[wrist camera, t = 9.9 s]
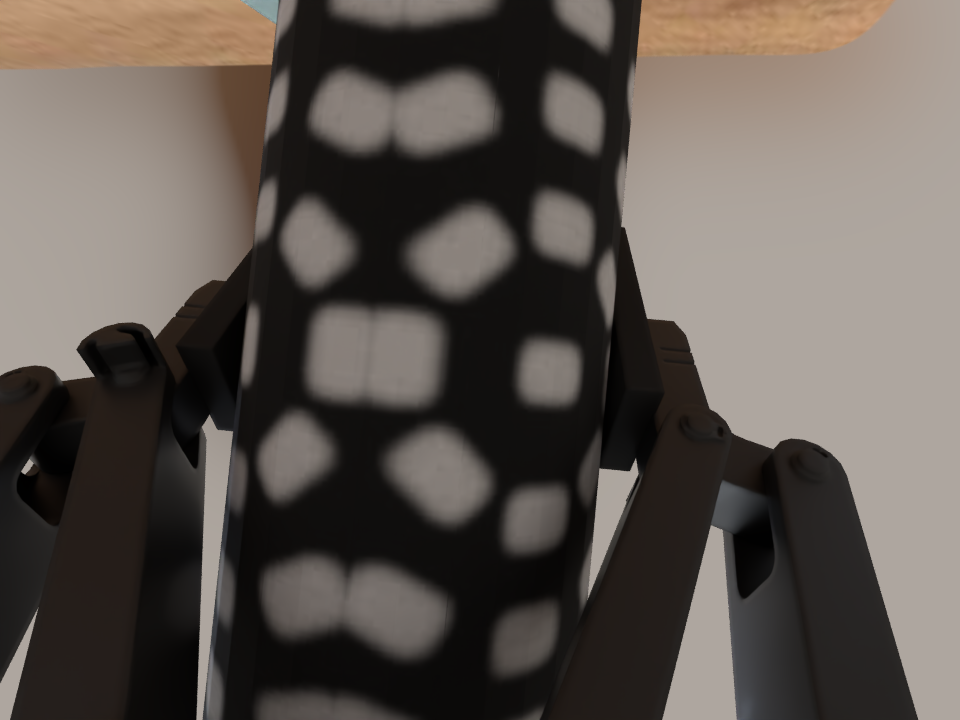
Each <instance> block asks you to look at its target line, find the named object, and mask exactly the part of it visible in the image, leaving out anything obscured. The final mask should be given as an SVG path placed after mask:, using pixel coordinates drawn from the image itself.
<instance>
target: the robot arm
mask: <svg viewBox="0 0 960 720" xmlns="http://www.w3.org/2000/svg"><path fill="white" fill-rule="evenodd" d="M252 249H253V248H252ZM252 249H251V250H250V251H249V253H248V254H247V255H246V257H245V258H244V259H243V260H242V262H241V263H240V264H239V266H238V267H237V268H236V269H235V271H234V272H233V273H232V274H231V276H230V277H229V278H228V279H227V281H217V280H212V281H210V282H209V283H207V284H206V285H204V286H202V287H201V288H199V289H198V290H196V291H195V292H194V293H193V294H192V296H191V297H190V298H189V299H188V300H187V301H186V302H185V305H184V307H183V306H182V307H181V308H180V310H179V311H178V312H177V313H176V317H173V318H172V319H171V320H170V322H169V323H168V324H167V325H166V326H165V327H164V329H163V330H162V331H161V332H160V333H159V335H158V336H157V337H156V338H155V339H154V337H153V335H152V334H151V332H150V330H149V329H148V328H146V327H145V326H144V325H142V324H137V323H118V324H114V325H110V326H106V327H104V328H101V329H100V330H97V331H95V332H93V333H91V334H90V335H89V336H87V337H86V338H85V339H84V340H82V341H81V343H80V345H79V346H78V348H77V351H78V353H79V354H80V356H81V357H82V358H83V360H84V361H85V363H86V364H87V366H88V367H89V369H90V370H91V372H92V373H93V374H94V376H95V377H90V378H82V379H75V380H68V381H61V380H60V378H59V377H58V376H57V374H56V373H55V372H54V371H53V370H51V369H50V368H48V367H44V366H29V367H22V368H18V369H15V370H12V371H10V372H7V373H4V374H3V375H1V376H0V682H1V681H2V678H3V677H4V675H5V672H6V671H7V668H8V667H9V664H10V663H11V660H12V659H13V657H14V655H15V653H16V651H17V649H18V647H19V645H20V642H21V641H22V639H23V637H24V635H25V633H26V631H27V629H28V627H29V625H30V623H31V621H32V619H33V617H34V615H35V612H36V611H37V609H38V611H37V615H36V619H35V623H34V627H33V631H32V635H31V639H30V643H29V647H28V651H27V655H26V659H25V663H24V667H23V671H22V675H21V679H20V683H19V687H18V691H17V694H16V698H15V703H14V706H13V710H12V714H11V718H10V720H196V715H197V688H198V659H199V632H200V604H201V603H200V602H201V576H202V549H203V521H204V492H205V463H206V437H205V433H204V431H203V429H202V426H203V424H204V423H205V421H206V419H207V418H208V416H209V415H210V416H211V418H212V420H213V422H214V424H215V426H216V428H217V429H218V430H226V431H233V428H234V419H235V410H236V400H237V391H238V381H239V372H240V362H241V353H242V344H243V334H244V325H245V315H246V306H247V296H248V287H249V278H250V268H251V259H252ZM29 459H30V460H31V461H32V462H33V463H34V464H33V466H32V467H31V469H30V470H29V471H28V472H27V473H26V474H23V473H22V472H21V471H22V469H23V468H24V466H25V464H26V463H27V461H28V460H29ZM635 459H636V461H637V467H638V473H639V474H638V477H637V479H636V481H635V483H634V485H633V487H632V489H631V491H630V493H629V496H628V498H627V500H626V501H627V503H626V505H625V508H624V511H623V513H622V515H621V518H620V520H619V523H618V525H617V528H616V530H615V533H614V535H613V538H612V540H611V543H610V545H609V548H608V550H607V553H606V555H605V558H604V560H603V563H602V565H601V568H600V571H599V573H598V575H597V578H596V580H595V583H594V585H593V588H592V590H591V593H590V595H589V598H588V600H587V603H586V605H585V608H584V610H583V613H582V615H581V618H580V620H579V623H578V625H577V628H576V630H575V633H574V635H573V638H572V640H571V643H570V645H569V648H568V650H567V653H566V655H565V658H564V660H563V663H562V665H561V668H560V670H559V673H558V675H557V678H556V680H555V683H554V685H553V688H552V690H551V693H550V695H549V698H548V700H547V703H546V705H545V708H544V710H543V713H542V715H541V718H540V720H662V718H663V714H664V710H665V706H666V702H667V698H668V694H669V690H670V686H671V682H672V678H673V674H674V670H675V666H676V662H677V658H678V654H679V650H680V646H681V642H682V638H683V634H684V630H685V626H686V622H687V618H688V614H689V610H690V606H691V602H692V598H693V594H694V589H695V586H696V582H697V578H698V574H699V570H700V566H701V562H702V558H703V554H704V550H705V546H706V542H707V538H708V534H709V530H710V526H711V525H713V526H715V527H717V528H720V529H722V530H723V537H724V551H725V563H726V577H727V591H728V604H729V618H730V632H731V646H732V658H733V671H734V672H733V673H734V687H735V700H736V714H737V720H918V718H917V714H916V711H915V707H914V704H913V700H912V697H911V694H910V690H909V687H908V683H907V680H906V676H905V673H904V670H903V666H902V663H901V659H900V656H899V653H898V649H897V646H896V642H895V639H894V636H893V632H892V629H891V625H890V622H889V618H888V615H887V611H886V608H885V605H884V601H883V598H882V594H881V591H880V587H879V584H878V581H877V577H876V574H875V570H874V567H873V564H872V560H871V557H870V553H869V550H868V547H867V543H866V539H865V536H864V533H863V530H862V526H861V522H860V519H859V516H858V512H857V509H856V506H855V502H854V498H853V495H852V492H851V488H850V485H849V481H848V478H847V475H846V473H845V471H844V469H843V467H842V465H841V463H839V461H838V460H837V459H836V458H835V457H834V456H833V455H832V454H831V453H830V452H828V451H826V450H825V449H823V448H821V447H820V446H819V445H816V444H814V443H811V442H808V441H806V440H800V439H788V440H784V441H781V442H780V443H779V444H778V445H777V446H776V447H775V448H774V449H771V448H768V447H765V446H763V445H759V444H757V443H754V442H751V441H748V440H745V439H743V438H741V437H738V436H736V435H734V434H733V433H731V430H730V428H729V426H728V424H727V423H726V421H725V420H724V419H723V418H721V417H720V416H719V415H718V414H717V413H716V412H714V411H712V410H710V409H709V406H708V403H707V400H706V396H705V393H704V390H703V387H702V384H701V381H700V378H699V375H698V372H697V368H696V366H695V365H694V359H693V356H692V353H690V346H689V343H688V340H687V337H686V335H685V334H684V332H683V331H682V330H681V329H680V328H679V327H678V326H677V325H676V324H675V322H674V321H665V320H653V319H647V317H646V313H645V309H644V305H643V300H642V297H641V292H640V289H639V284H638V280H637V276H636V272H635V267H634V263H633V259H632V255H631V251H630V247H629V243H628V238H627V234H626V230H625V228H624V227H621V234H620V245H619V256H618V267H617V279H616V290H615V301H614V312H613V323H612V334H611V345H610V356H609V367H608V378H607V389H606V400H605V411H604V422H603V433H602V444H601V455H600V466H599V468H601V469H612V470H621V471H630V470H631V467H632V465H633V463H634V461H635Z"/></svg>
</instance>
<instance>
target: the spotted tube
mask: <svg viewBox="0 0 960 720" xmlns="http://www.w3.org/2000/svg"><path fill="white" fill-rule="evenodd" d="M641 3H642V0H279V4H278V14H277V23H276V32H275V42H274V51H273V61H272V70H271V81H270V89H269V99H268V108H267V118H266V127H265V136H264V146H263V155H262V164H261V174H260V183H259V193H258V202H257V212H256V221H255V231H254V240H253V249H252V259H251V268H250V278H249V287H248V296H247V306H246V315H245V325H244V334H243V344H242V353H241V362H240V372H239V381H238V391H237V400H236V410H235V419H234V428H233V439H232V447H231V457H230V466H229V476H228V485H227V495H226V504H225V514H224V523H223V532H222V542H221V552H220V560H219V571H218V579H217V590H216V599H215V608H214V617H213V618H214V619H213V626H212V636H211V645H210V655H209V664H208V674H207V683H206V692H205V702H204V711H203V720H540V718H541V715H542V713H543V710H544V708H545V705H546V703H547V700H548V698H549V695H550V693H551V690H552V688H553V685H554V683H555V680H556V678H557V675H558V673H559V670H560V668H561V665H562V663H563V660H564V658H565V655H566V653H567V650H568V648H569V645H570V643H571V640H572V638H573V635H574V633H575V630H576V628H577V625H578V623H579V620H580V618H581V615H582V613H583V610H584V608H585V605H586V603H587V598H588V587H589V576H590V565H591V553H592V543H593V532H594V521H595V510H596V499H597V488H598V487H597V486H598V477H599V466H600V455H601V444H602V433H603V422H604V411H605V400H606V389H607V378H608V367H609V356H610V345H611V334H612V323H613V312H614V301H615V290H616V279H617V267H618V256H619V245H620V234H621V222H622V212H623V201H624V190H625V178H626V168H627V157H628V146H629V135H630V123H631V113H632V102H633V91H634V80H635V68H636V58H637V47H638V36H639V25H640V14H641Z"/></svg>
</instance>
